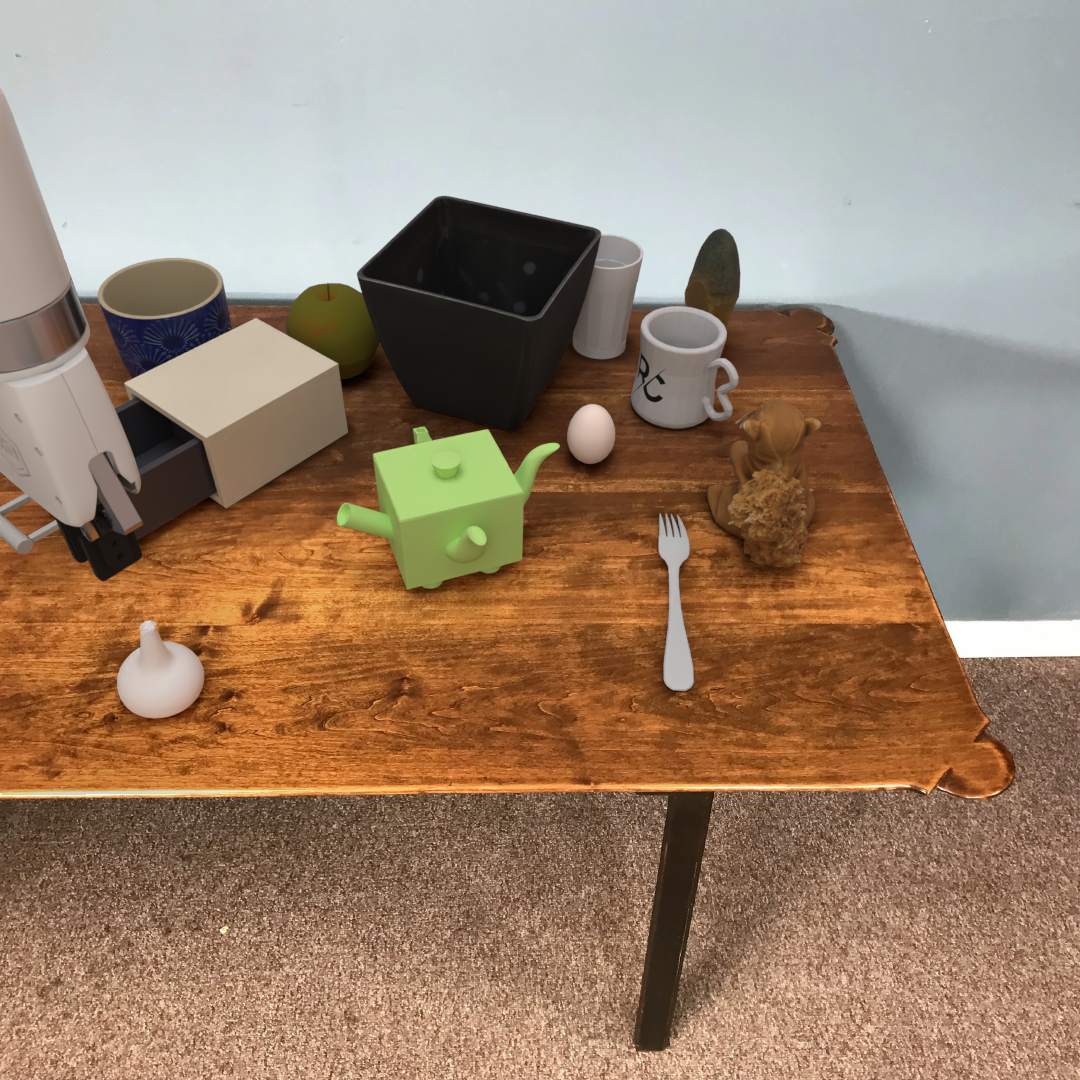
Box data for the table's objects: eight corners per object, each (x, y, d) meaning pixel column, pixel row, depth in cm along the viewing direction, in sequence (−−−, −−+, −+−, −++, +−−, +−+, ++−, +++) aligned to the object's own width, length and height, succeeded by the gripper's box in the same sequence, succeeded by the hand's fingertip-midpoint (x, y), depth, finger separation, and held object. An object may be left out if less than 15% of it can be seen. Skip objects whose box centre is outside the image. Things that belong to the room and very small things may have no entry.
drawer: (53, 601, 78) (23, 545, 73) (-17, 539, 82) (-49, 482, 78) (246, 482, 89) (232, 427, 84) (175, 434, 94) (158, 379, 89)
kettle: (556, 524, 88) (561, 432, 80) (495, 631, 78) (495, 538, 70) (415, 482, 91) (407, 389, 83) (341, 579, 82) (324, 485, 74)
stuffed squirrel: (804, 489, 92) (839, 380, 83) (823, 593, 82) (864, 482, 73) (705, 481, 93) (728, 371, 83) (711, 583, 83) (738, 472, 73)
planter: (264, 376, 103) (245, 289, 95) (162, 422, 97) (133, 332, 89) (206, 331, 109) (184, 245, 101) (107, 371, 103) (75, 283, 95)
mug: (612, 403, 102) (621, 324, 95) (668, 373, 106) (680, 295, 99) (696, 458, 95) (712, 378, 88) (752, 424, 100) (772, 345, 93)
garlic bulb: (120, 673, 74) (89, 608, 68) (200, 650, 76) (176, 585, 70) (129, 736, 70) (96, 672, 64) (213, 710, 72) (189, 645, 66)
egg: (569, 442, 97) (572, 389, 92) (614, 448, 96) (620, 395, 91) (562, 471, 93) (565, 418, 88) (609, 477, 93) (615, 425, 88)
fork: (657, 704, 76) (661, 687, 74) (654, 513, 89) (657, 494, 87) (691, 706, 76) (697, 689, 74) (683, 515, 89) (687, 496, 87)
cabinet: (226, 508, 88) (206, 437, 82) (147, 453, 93) (123, 382, 87) (348, 432, 96) (338, 363, 90) (270, 385, 102) (256, 317, 96)
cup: (607, 371, 106) (617, 276, 98) (552, 346, 109) (556, 252, 101) (645, 342, 111) (657, 249, 102) (590, 319, 114) (598, 227, 105)
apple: (391, 348, 108) (382, 262, 100) (375, 397, 101) (364, 308, 93) (306, 343, 108) (291, 256, 100) (284, 391, 101) (267, 302, 93)
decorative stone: (679, 326, 113) (697, 209, 103) (729, 333, 113) (752, 216, 102) (671, 370, 107) (691, 250, 96) (724, 377, 106) (749, 257, 95)
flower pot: (532, 462, 94) (538, 317, 82) (368, 416, 98) (351, 273, 87) (592, 365, 107) (604, 228, 95) (445, 329, 111) (438, 193, 99)
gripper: (-135, 295, 50) (-6, 535, 63) (19, 411, 44) (129, 652, 57) (-3, 247, 55) (93, 481, 68) (156, 345, 48) (229, 584, 61)
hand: (109, 557), depth 62 cm, fingers closed
